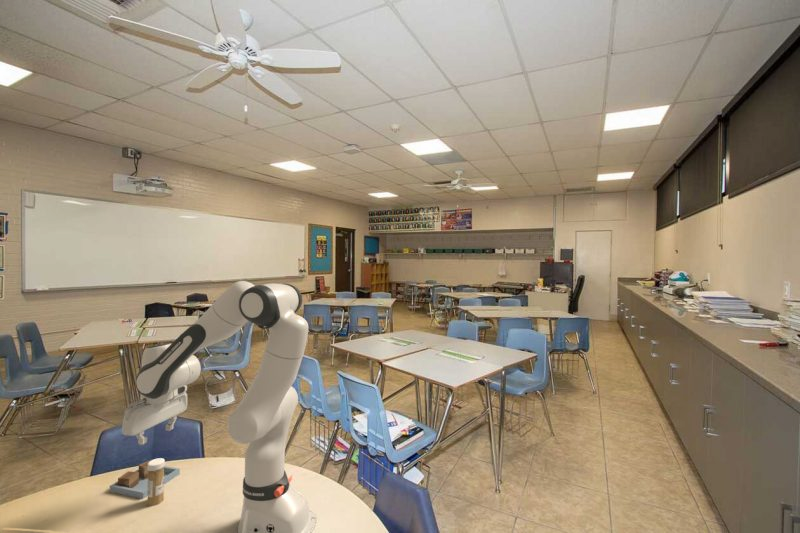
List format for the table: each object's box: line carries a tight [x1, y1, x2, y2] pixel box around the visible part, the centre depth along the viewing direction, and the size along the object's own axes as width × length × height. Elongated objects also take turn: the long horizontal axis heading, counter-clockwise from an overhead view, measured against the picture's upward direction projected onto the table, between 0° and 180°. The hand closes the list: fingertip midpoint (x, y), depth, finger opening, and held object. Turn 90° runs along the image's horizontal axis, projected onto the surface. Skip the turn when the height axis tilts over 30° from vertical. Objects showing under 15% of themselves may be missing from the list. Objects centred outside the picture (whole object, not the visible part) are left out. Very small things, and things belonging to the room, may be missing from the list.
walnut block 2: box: [138, 459, 153, 480], centre depth 125 cm, size 4×4×4 cm
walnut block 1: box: [117, 470, 139, 488], centre depth 119 cm, size 4×4×4 cm
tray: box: [109, 465, 181, 499], centre depth 121 cm, size 14×14×2 cm
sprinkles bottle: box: [146, 457, 166, 507], centre depth 112 cm, size 5×5×14 cm
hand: (156, 436), depth 112 cm, fingers open, 8 cm apart
